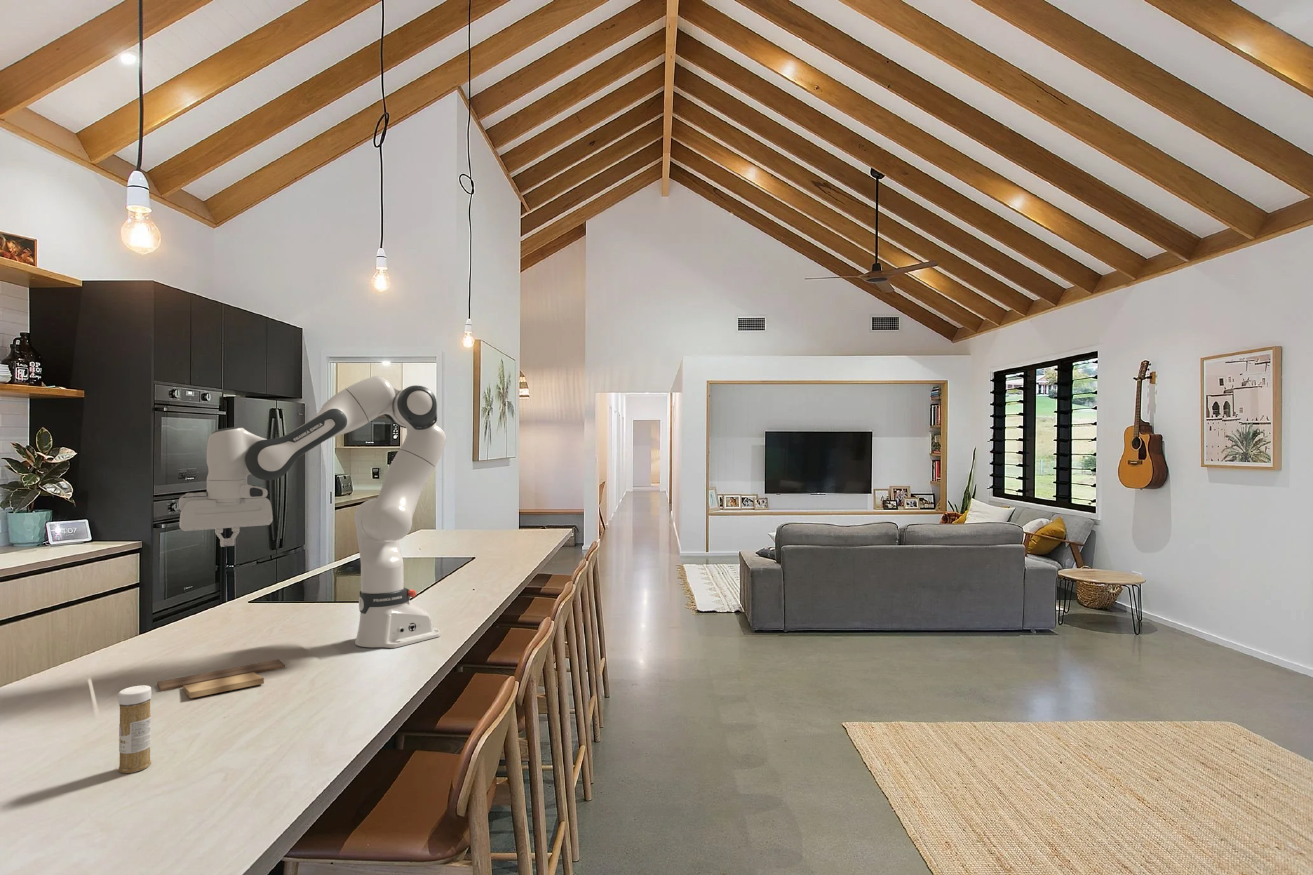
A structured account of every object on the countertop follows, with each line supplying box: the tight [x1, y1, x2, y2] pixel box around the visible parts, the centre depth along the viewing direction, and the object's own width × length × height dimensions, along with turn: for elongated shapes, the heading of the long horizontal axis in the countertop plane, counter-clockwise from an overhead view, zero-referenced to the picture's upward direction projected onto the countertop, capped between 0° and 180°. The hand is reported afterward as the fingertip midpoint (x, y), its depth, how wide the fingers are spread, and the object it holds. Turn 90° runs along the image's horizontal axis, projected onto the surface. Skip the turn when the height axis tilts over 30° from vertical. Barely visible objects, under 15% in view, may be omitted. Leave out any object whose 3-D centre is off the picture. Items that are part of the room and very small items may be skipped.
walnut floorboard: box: [156, 659, 286, 693], centre depth 169 cm, size 25×6×1 cm, turn 131°
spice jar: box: [117, 684, 152, 774], centre depth 122 cm, size 5×5×14 cm
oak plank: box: [182, 672, 265, 699], centre depth 161 cm, size 14×10×1 cm
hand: (227, 545), depth 182 cm, fingers closed
